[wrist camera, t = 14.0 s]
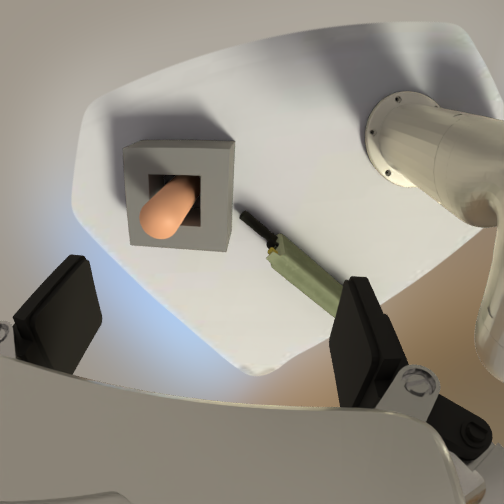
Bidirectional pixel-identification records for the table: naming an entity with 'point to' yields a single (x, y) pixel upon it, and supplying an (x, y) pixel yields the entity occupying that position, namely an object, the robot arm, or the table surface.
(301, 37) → the table surface
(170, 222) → the peg
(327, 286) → the handheld radio
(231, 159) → the socket block
